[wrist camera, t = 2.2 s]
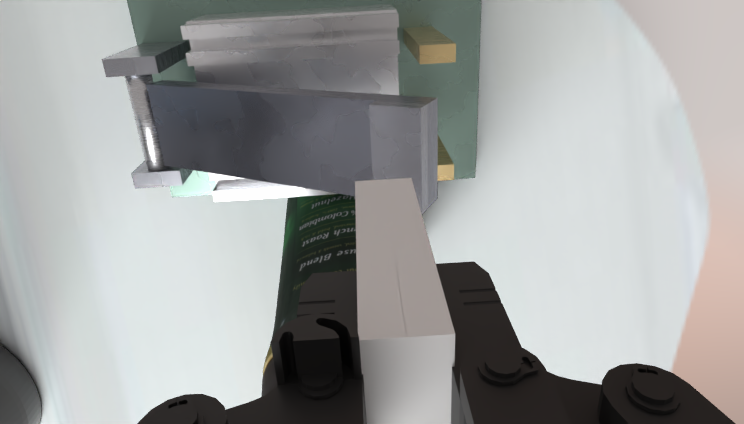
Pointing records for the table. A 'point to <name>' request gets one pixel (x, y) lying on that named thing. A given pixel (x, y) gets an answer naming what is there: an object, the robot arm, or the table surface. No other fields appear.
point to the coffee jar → (311, 254)
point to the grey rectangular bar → (298, 135)
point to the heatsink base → (304, 68)
